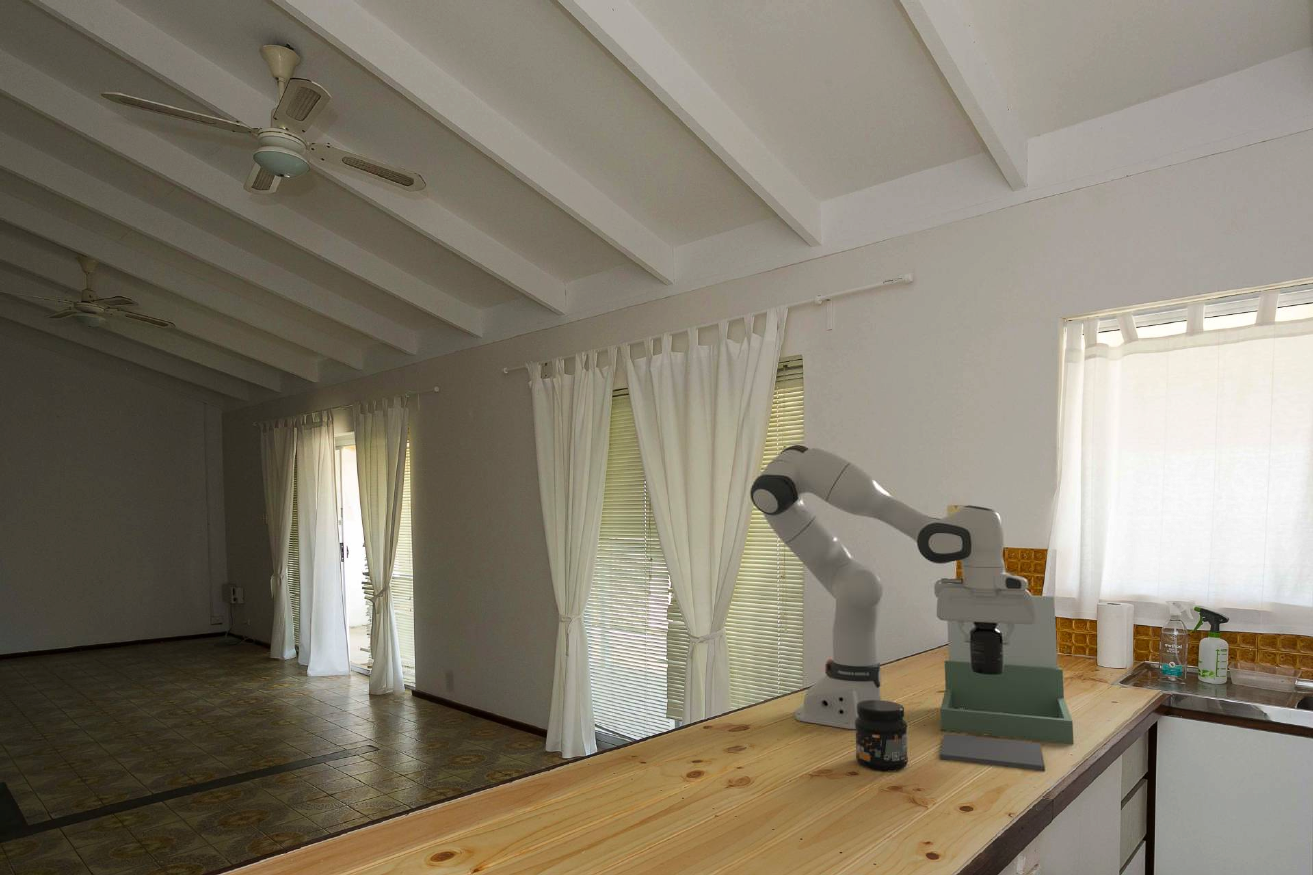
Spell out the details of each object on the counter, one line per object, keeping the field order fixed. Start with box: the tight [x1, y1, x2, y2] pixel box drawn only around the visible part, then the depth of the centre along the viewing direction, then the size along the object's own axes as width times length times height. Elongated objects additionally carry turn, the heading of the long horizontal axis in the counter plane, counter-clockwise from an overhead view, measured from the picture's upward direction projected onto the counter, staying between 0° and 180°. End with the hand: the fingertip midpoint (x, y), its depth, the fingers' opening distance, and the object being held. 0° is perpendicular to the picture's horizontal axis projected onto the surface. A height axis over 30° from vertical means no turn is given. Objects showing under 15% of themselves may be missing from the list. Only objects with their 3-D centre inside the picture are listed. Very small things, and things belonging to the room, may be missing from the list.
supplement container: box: [855, 699, 909, 772], centre depth 163 cm, size 10×10×12 cm
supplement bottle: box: [969, 622, 1004, 675], centre depth 172 cm, size 7×7×12 cm
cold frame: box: [940, 595, 1075, 745], centre depth 193 cm, size 28×25×30 cm
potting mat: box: [939, 733, 1046, 772], centre depth 169 cm, size 20×16×1 cm
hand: (986, 643), depth 171 cm, fingers closed on supplement bottle, 6 cm apart
